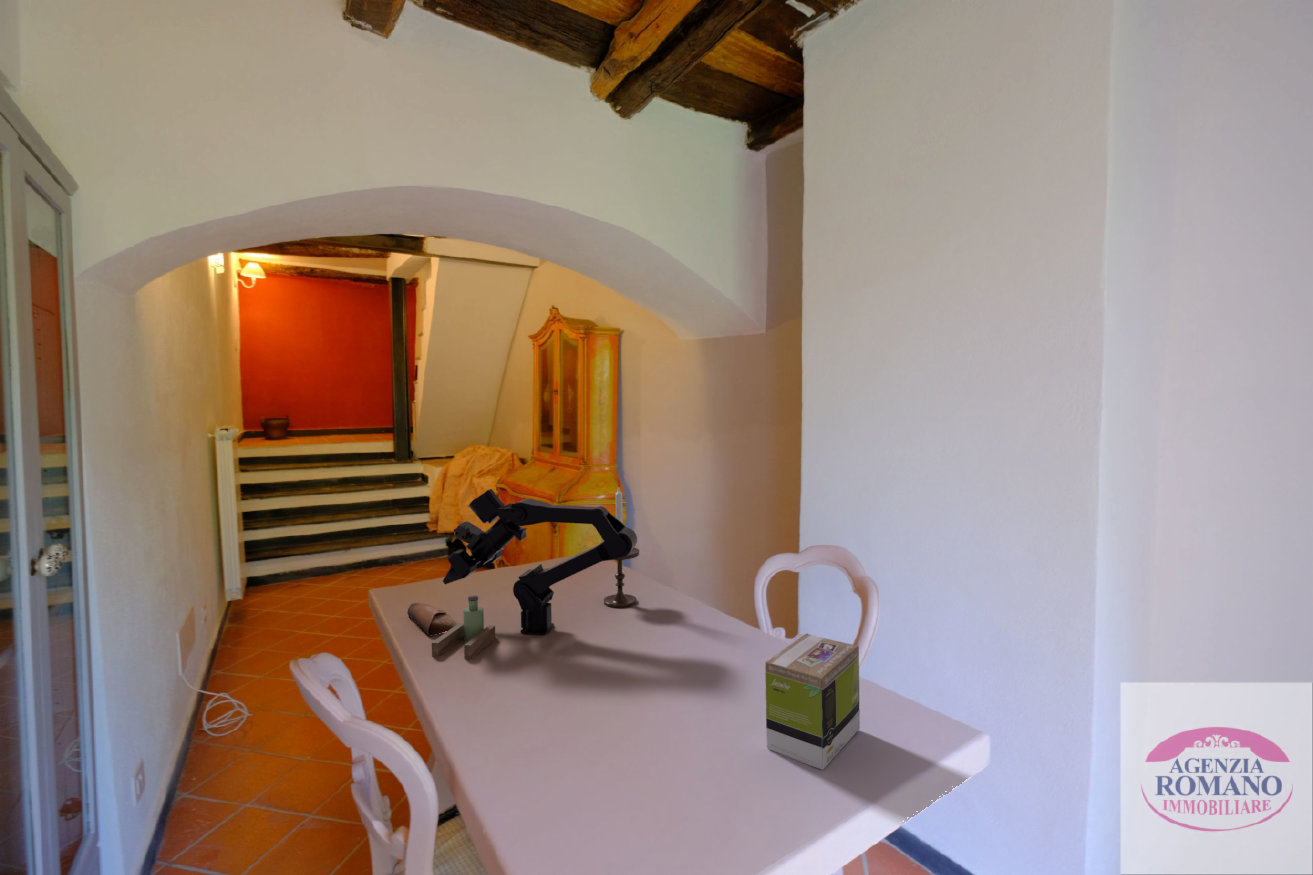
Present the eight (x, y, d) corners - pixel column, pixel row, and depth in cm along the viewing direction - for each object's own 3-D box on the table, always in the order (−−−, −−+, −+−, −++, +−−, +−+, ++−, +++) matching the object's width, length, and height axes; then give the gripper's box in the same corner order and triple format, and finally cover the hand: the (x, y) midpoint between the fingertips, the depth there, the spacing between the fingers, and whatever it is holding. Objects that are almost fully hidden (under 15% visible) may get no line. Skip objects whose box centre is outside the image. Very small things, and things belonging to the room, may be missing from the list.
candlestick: (595, 599, 172) (593, 475, 170) (630, 594, 176) (629, 473, 174) (608, 611, 162) (606, 479, 160) (646, 605, 166) (644, 477, 164)
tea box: (805, 711, 109) (806, 630, 108) (861, 730, 103) (862, 644, 102) (763, 749, 98) (764, 658, 97) (823, 773, 91) (824, 676, 90)
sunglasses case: (463, 628, 150) (449, 608, 148) (439, 648, 147) (424, 628, 145) (439, 608, 165) (425, 590, 162) (416, 627, 161) (402, 608, 159)
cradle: (495, 637, 144) (495, 625, 144) (470, 658, 133) (470, 645, 132) (459, 635, 146) (459, 622, 146) (432, 655, 134) (431, 642, 134)
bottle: (487, 635, 146) (486, 594, 145) (478, 643, 141) (477, 600, 141) (469, 634, 147) (468, 593, 146) (460, 642, 142) (459, 599, 141)
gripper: (492, 506, 160) (452, 544, 162) (456, 519, 141) (411, 561, 144) (520, 539, 159) (479, 576, 161) (487, 556, 140) (441, 598, 143)
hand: (453, 577), depth 152 cm, fingers open, 9 cm apart
